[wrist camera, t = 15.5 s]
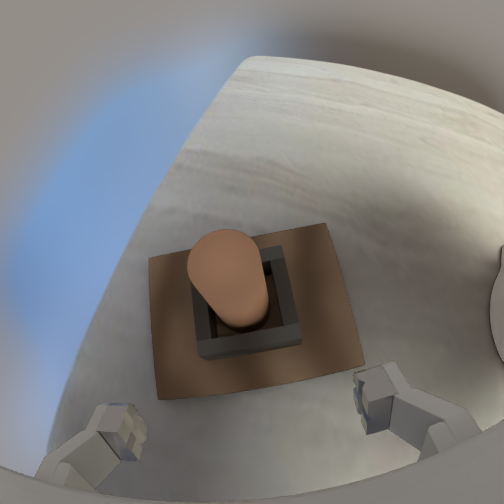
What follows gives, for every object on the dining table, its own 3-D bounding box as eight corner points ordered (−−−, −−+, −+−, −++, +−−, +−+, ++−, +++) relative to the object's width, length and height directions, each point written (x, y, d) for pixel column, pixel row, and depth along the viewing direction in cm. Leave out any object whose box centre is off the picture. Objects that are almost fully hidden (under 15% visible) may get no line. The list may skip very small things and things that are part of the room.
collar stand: (324, 230, 32) (328, 205, 28) (361, 366, 25) (374, 359, 21) (154, 264, 32) (136, 244, 28) (164, 399, 26) (143, 398, 22)
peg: (265, 281, 28) (253, 222, 20) (274, 328, 26) (266, 289, 18) (217, 290, 29) (184, 237, 20) (224, 337, 27) (190, 303, 18)
